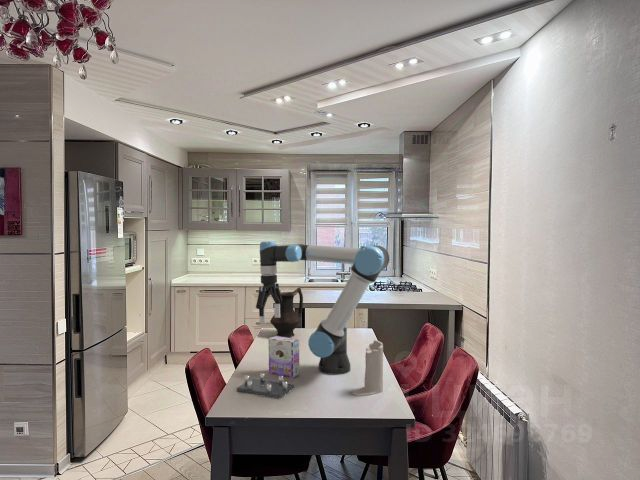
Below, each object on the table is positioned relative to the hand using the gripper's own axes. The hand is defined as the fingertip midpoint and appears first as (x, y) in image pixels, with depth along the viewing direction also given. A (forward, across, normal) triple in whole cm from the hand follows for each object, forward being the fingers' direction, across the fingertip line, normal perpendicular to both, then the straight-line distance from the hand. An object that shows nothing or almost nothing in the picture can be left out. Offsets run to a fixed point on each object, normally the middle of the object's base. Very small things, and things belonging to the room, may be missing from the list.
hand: (270, 320), depth 197 cm
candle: (+26, +6, +48) cm, 55 cm away
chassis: (+24, +20, +9) cm, 33 cm away
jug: (+24, -62, -25) cm, 71 cm away
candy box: (+24, 0, +6) cm, 25 cm away
